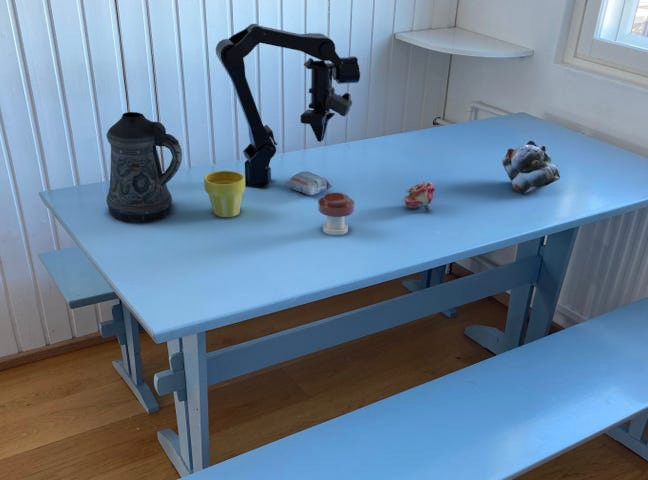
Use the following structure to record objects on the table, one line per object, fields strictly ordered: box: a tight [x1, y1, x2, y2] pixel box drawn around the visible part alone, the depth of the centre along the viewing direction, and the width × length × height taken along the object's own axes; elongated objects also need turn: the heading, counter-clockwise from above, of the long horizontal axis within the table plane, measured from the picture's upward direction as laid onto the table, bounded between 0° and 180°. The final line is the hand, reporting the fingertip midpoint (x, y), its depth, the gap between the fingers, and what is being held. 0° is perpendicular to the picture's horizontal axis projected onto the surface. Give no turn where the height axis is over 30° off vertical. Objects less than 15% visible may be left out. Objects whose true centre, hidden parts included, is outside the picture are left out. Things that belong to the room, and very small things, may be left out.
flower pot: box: [203, 169, 246, 218], centre depth 191 cm, size 10×10×10 cm
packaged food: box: [281, 171, 333, 196], centre depth 206 cm, size 9×12×5 cm
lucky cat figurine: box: [501, 140, 561, 195], centre depth 216 cm, size 15×12×14 cm
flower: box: [401, 180, 435, 212], centre depth 199 cm, size 10×9×8 cm
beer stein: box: [105, 111, 183, 224], centre depth 186 cm, size 16×19×25 cm
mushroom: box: [317, 192, 355, 236], centre depth 186 cm, size 9×9×9 cm
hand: (320, 140), depth 211 cm, fingers closed
